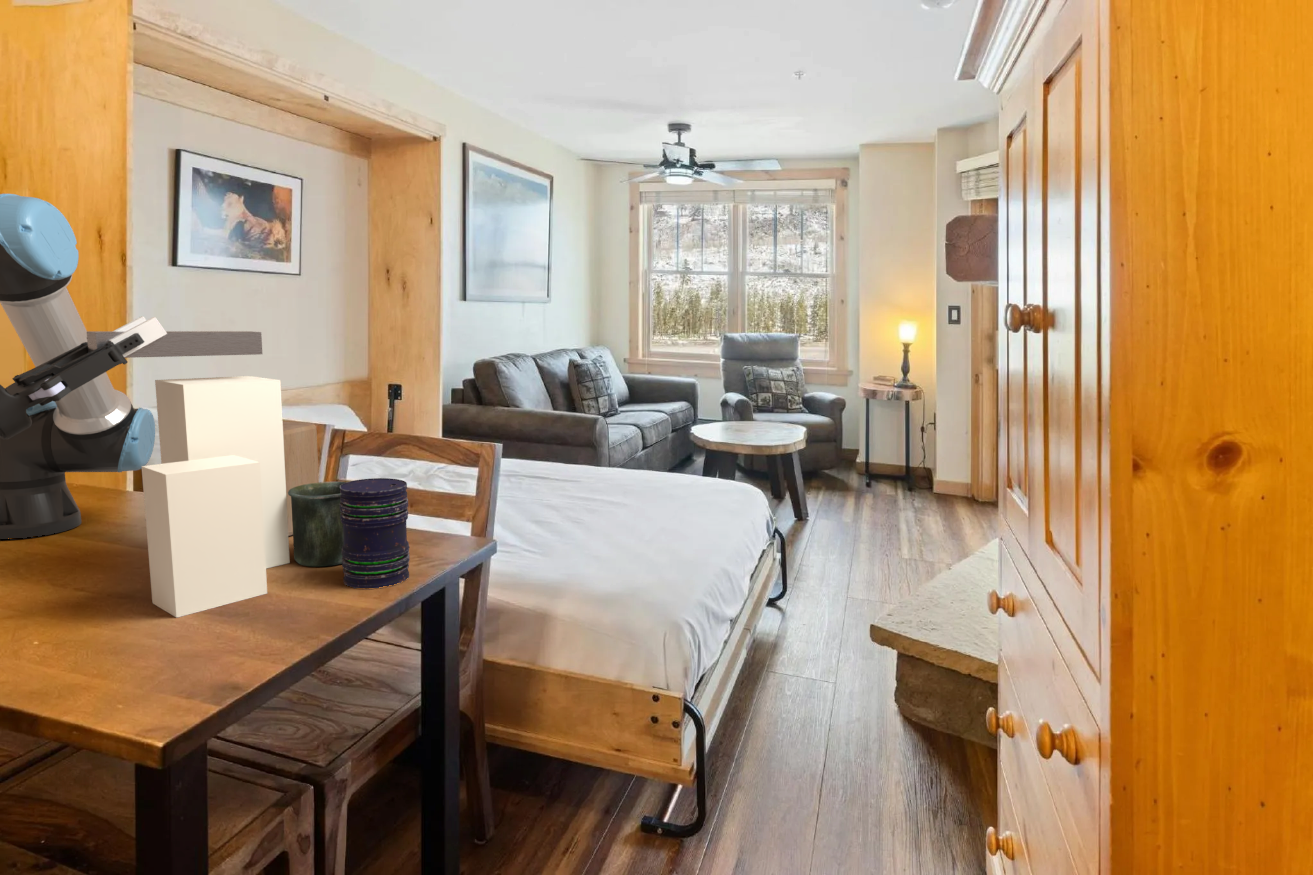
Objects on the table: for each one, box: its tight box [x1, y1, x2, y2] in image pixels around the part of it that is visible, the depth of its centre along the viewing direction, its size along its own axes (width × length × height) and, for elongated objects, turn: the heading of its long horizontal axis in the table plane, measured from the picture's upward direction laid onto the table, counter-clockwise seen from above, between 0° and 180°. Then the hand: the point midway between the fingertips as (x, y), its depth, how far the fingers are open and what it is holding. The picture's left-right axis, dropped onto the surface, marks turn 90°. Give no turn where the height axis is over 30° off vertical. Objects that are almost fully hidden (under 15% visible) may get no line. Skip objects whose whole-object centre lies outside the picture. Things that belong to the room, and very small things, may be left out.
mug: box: [288, 481, 347, 568], centre depth 128 cm, size 11×15×12 cm
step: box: [141, 455, 268, 619], centre depth 107 cm, size 8×12×20 cm, turn 143°
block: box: [282, 420, 320, 537], centre depth 142 cm, size 10×10×20 cm
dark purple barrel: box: [340, 477, 411, 589], centre depth 117 cm, size 10×10×15 cm
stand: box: [154, 375, 291, 569], centre depth 119 cm, size 10×14×30 cm
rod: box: [86, 330, 263, 359], centre depth 112 cm, size 4×22×4 cm, turn 143°
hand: (154, 325), depth 109 cm, fingers closed on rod, 3 cm apart
